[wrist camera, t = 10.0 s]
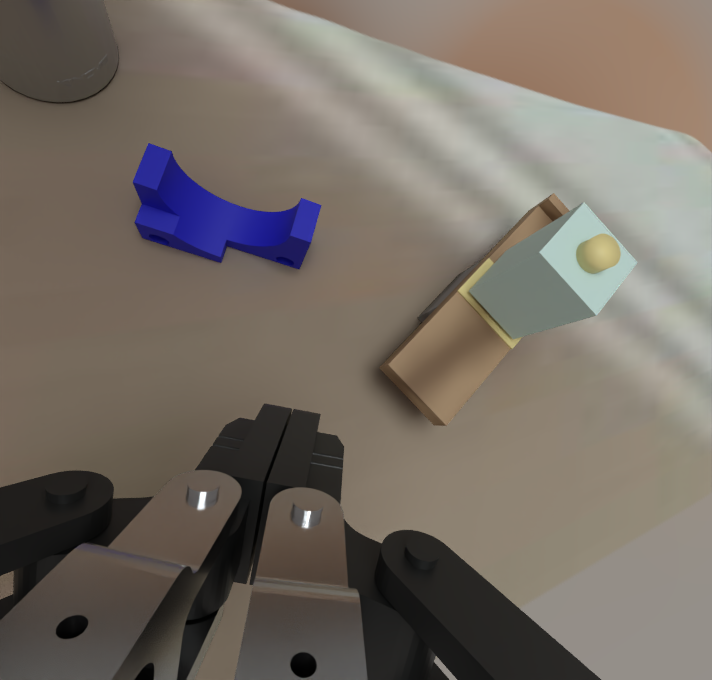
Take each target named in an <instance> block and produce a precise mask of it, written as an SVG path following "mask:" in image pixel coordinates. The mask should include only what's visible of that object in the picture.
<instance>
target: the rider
mask: <svg viewBox="0 0 712 680" xmlns="http://www.w3.org/2000/svg"><path fill="white" fill-rule="evenodd" d="M636 264H637V261H636V260H635V259H634V258H633V257H632V256H631V254H630V253H629V252H628V251H627V250H626V249H625V248H624V247H623V245H622V244H621V243H620V242H619V241H618V240H617V239H616V238H615V236H614V235H613V234H612V233H611V232H610V231H609V230H608V229H607V227H606V226H605V225H604V224H603V223H602V222H601V221H600V220H599V218H598V217H597V216H596V215H595V214H594V213H593V212H592V211H591V209H590V208H589V207H588V206H587V205H586V204H585V203H582V204H580V205H579V206H577V207H576V208H574V209H572V210H571V211H569V212H568V213H566V214H564V215H563V216H561V217H559V218H558V219H556V220H555V221H553V222H551V223H550V224H548V225H547V226H545V227H543V228H542V229H540V230H538V231H537V232H535V233H534V234H532V235H530V236H529V237H527V238H526V239H524V240H522V241H521V242H519V243H517V244H516V245H514V246H513V247H511V248H509V249H508V250H506V251H505V252H504V254H503V255H502V256H501V257H500V258H499V259H498V260H497V261H496V262H495V263H494V264H493V265H492V266H491V267H490V269H489V270H488V271H487V272H486V273H485V274H484V275H483V276H482V277H481V278H480V279H479V280H478V281H477V282H476V284H475V285H474V286H473V287H472V288H471V289H470V290H469V292H470V293H471V294H472V295H473V296H474V297H475V299H476V300H477V301H478V302H479V303H480V304H481V305H482V306H483V307H484V308H485V309H486V310H487V312H488V313H489V314H490V315H491V316H492V317H493V318H494V319H495V320H496V321H497V322H498V323H499V324H500V326H501V327H502V328H503V329H504V330H505V331H506V332H507V333H508V334H509V335H510V336H511V337H512V339H516V338H520V337H523V336H527V335H530V334H534V333H537V332H541V331H544V330H548V329H551V328H555V327H558V326H562V325H565V324H569V323H572V322H576V321H579V320H583V319H586V318H590V317H593V316H597V314H598V313H599V312H600V310H601V309H602V308H603V306H604V305H605V304H606V303H607V301H608V300H609V299H610V297H611V296H612V295H613V294H614V292H615V291H616V290H617V288H618V287H619V286H620V284H621V283H622V282H623V281H624V279H625V278H626V277H627V275H628V274H629V273H630V272H631V270H632V269H633V268H634V266H635V265H636Z"/></svg>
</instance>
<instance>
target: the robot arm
mask: <svg viewBox="0 0 712 680" xmlns="http://www.w3.org/2000/svg"><path fill="white" fill-rule="evenodd" d="M118 59H119V55H118V46H117V43H116V40H115V37H114V34H113V30H112V27H111V24H110V21H109V17H108V14H107V11H106V8H105V4H104V0H0V80H1V81H2V82H4V83H5V84H6V85H8V86H9V87H11V88H12V89H13V90H15V91H17V92H19V93H22V94H24V95H26V96H28V97H31V98H35V99H38V100H42V101H50V102H71V101H76V100H80V99H84V98H87V97H89V96H91V95H93V94H95V93H97V92H98V91H100V90H101V89H102V88H104V87H105V86H106V85H107V84H108V83H109V81H110V80H111V79H112V78H113V76H114V73H115V71H116V69H117V65H118ZM291 412H292V409H291V408H285V407H280V406H275V405H269V404H264V405H263V407H262V408H261V410H260V412H259V414H258V416H257V417H256V419H255V420H249V419H244V418H238V419H237V420H235V421H233V422H231V423H229V424H227V425H226V426H225V427H224V428H223V430H222V431H221V433H220V434H219V437H217V439H216V440H215V442H214V443H213V446H211V447H210V449H209V450H208V452H207V453H206V455H205V456H204V458H203V459H202V461H201V462H200V464H199V465H198V466H197V468H196V469H195V471H189V472H185V473H182V474H179V475H177V476H175V477H173V478H172V479H170V480H169V481H168V482H167V483H166V484H165V485H164V486H163V487H162V489H161V490H160V491H159V492H158V493H157V494H156V495H155V496H154V497H146V498H120V499H113V491H114V487H113V484H112V482H111V481H110V480H109V479H108V478H107V477H105V476H103V475H101V474H98V473H94V472H90V471H64V472H58V473H54V474H49V475H46V476H42V477H38V478H34V479H31V480H27V481H23V482H20V483H16V484H12V485H8V486H5V487H1V488H0V576H1V575H3V574H6V573H8V572H11V571H13V570H14V590H13V594H12V595H10V596H8V597H5V598H3V599H1V600H0V680H194V679H195V676H196V674H197V672H198V670H199V668H200V665H201V663H202V661H203V659H204V656H205V654H206V652H207V650H208V647H209V645H210V643H211V641H212V638H213V636H214V634H215V632H216V630H217V627H218V625H219V623H220V621H221V618H222V615H223V609H224V603H225V601H226V600H227V598H228V596H229V593H230V590H231V587H232V585H233V582H237V583H243V584H246V583H247V580H248V577H249V574H250V570H251V567H252V564H253V567H252V573H251V579H250V585H253V588H252V593H251V598H250V603H249V608H248V613H247V618H246V623H245V629H244V634H243V639H242V644H241V649H240V654H239V659H238V664H237V669H236V674H235V679H234V680H449V679H448V678H447V676H446V675H445V674H444V673H443V672H442V671H441V670H440V668H439V667H438V666H437V665H436V664H435V663H434V659H435V656H437V657H438V658H439V659H440V660H441V662H442V663H443V664H444V665H445V666H446V667H447V668H448V670H449V671H450V672H451V673H452V674H453V675H454V676H455V677H456V679H457V680H601V679H600V678H599V677H598V676H596V675H595V674H594V673H593V672H592V671H590V670H589V669H588V668H587V667H586V666H585V665H584V664H582V663H581V662H580V661H579V660H578V659H577V658H576V657H574V656H573V655H572V654H571V653H570V652H569V651H568V650H566V649H565V648H564V647H563V646H562V645H561V644H559V643H558V642H557V641H556V640H555V639H554V638H552V637H551V636H550V635H549V634H548V633H547V632H546V631H544V630H543V629H542V628H541V627H540V626H539V625H538V624H536V623H535V622H534V621H533V620H532V619H531V618H529V617H528V616H527V615H526V614H525V613H524V612H522V611H521V610H520V609H519V608H518V607H517V606H516V605H514V604H513V603H512V602H511V601H510V600H509V599H508V598H506V597H505V596H504V595H503V594H502V593H501V592H499V591H498V590H497V589H496V588H495V587H494V586H493V585H491V584H490V583H489V582H488V581H487V580H486V579H484V578H483V577H482V576H481V575H480V574H479V573H478V572H476V571H475V570H474V569H473V568H472V567H471V566H469V565H468V564H467V563H466V562H465V561H464V560H463V559H461V558H460V557H459V556H458V555H457V554H456V553H454V552H453V551H452V550H451V549H450V548H449V547H448V546H446V545H445V544H444V543H443V542H441V541H440V540H438V539H436V538H435V537H432V536H430V535H428V534H425V533H422V532H419V531H413V530H400V531H396V532H393V533H391V534H389V535H388V536H387V537H386V538H385V539H384V540H383V543H382V544H381V543H379V542H377V541H374V540H372V539H370V538H367V537H365V536H363V535H361V534H360V533H358V532H357V531H355V530H354V529H353V528H352V527H350V526H349V524H348V523H347V522H346V521H345V520H344V514H343V510H342V507H341V506H340V500H341V485H342V468H343V455H344V446H343V444H342V443H341V441H340V440H339V438H338V437H337V436H335V435H330V434H325V433H319V432H317V430H318V425H319V420H320V414H318V413H312V412H307V411H302V410H296V409H294V410H293V412H292V415H291Z"/></svg>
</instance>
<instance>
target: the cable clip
mask: <svg viewBox="0 0 712 680" xmlns="http://www.w3.org/2000/svg"><path fill="white" fill-rule="evenodd" d="M133 184H134V186H135V189H136V191H137V193H138V196H139V198H140V200H141V203H142V205H141V207H140V210H139V213H138V215H137V218H136V220H135V224H136V226H137V228H138V230H139V232H140V234H141V236H142V238H144V239H147V240H150V241H153V242H157V243H160V244H163V245H166V246H169V247H172V248H176V249H179V250H182V251H185V252H188V253H191V254H195V255H198V256H201V257H204V258H207V259H210V260H214V261H217V262H220V263H221V262H222V259H223V256H224V253H225V250H226V247H227V246H228V247H232V248H235V249H238V250H241V251H244V252H247V253H250V254H253V255H256V256H259V257H262V258H265V259H268V260H272V261H275V262H278V263H281V264H284V265H287V266H290V267H293V268H296V269H300V266H301V264H302V262H303V259H304V257H305V255H306V252H307V250H308V248H309V245H310V243H311V240H312V236H313V233H314V229H315V226H316V222H317V219H318V215H319V212H320V208H321V205H319V204H316V203H314V202H311V201H308V200H305V199H303V198H301V200H300V202H299V203H298V204H297V205H296V206H295V207H293V208H292V209H289V210H286V211H281V212H262V211H256V210H251V209H247V208H244V207H240V206H238V205H235V204H232V203H230V202H227V201H225V200H223V199H221V198H219V197H217V196H215V195H213V194H211V193H210V192H208V191H207V190H205V189H203V188H202V187H201V186H199V185H198V184H197V183H195V182H194V181H193V180H192V179H191V178H189V177H188V176H187V175H186V174H185V173H184V172H183V170H182V169H181V168H180V167H179V165H178V164H177V162H176V161H175V159H174V157H173V154H172V151H169V150H166V149H164V148H161V147H158V146H155V145H152V144H150V143H148V146H147V148H146V151H145V153H144V156H143V158H142V160H141V163H140V165H139V168H138V170H137V173H136V175H135V178H134V180H133Z"/></svg>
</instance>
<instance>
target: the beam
mask: <svg viewBox="0 0 712 680" xmlns="http://www.w3.org/2000/svg"><path fill="white" fill-rule="evenodd" d="M568 212H569V210H568V209H567V208H566V206H565V205H564V204H563V203H562V202H561V201H560V200H559V199H558V197H557V196H556V195H555V194H554V193H553V194H552V195H550V196H549V197H548V198H546V199H545V200H543V201H542V202H541V203H539V204H538V205H536V206H535V207H533V208H532V209H531V210H529V211H528V212H527V213H526V214H525V215H524V216H523V217H522V218H521V219H520V220H519V222H518V223H517V224H516V225H515V226H514V227H513V228H512V229H511V230H510V231H509V232H508V233H507V234H506V235H505V236H504V237H503V238H502V239H501V240H500V241H499V243H498V244H497V245H496V246H495V247H494V248H493V249H492V250H491V251H490V252H489V253H488V254H487V255H486V256H485V257H484V258H483V259H482V260H481V261H479V262H478V263H476V264H475V265H473V266H472V267H470V268H469V269H467V270H465V271H464V272H462V273H461V274H459V275H458V276H457V277H456V278H455V279H454V280H453V281H452V282H451V283H450V284H449V285H448V286H447V287H446V289H445V290H444V291H443V292H442V293H441V294H440V295H439V296H438V297H437V298H436V299H435V300H434V301H433V302H432V303H431V304H430V305H429V306H428V307H427V308H426V309H425V310H424V311H423V312H422V313H421V314H420V316H419V317H418V319H419V320H420V321H421V322H422V323H421V324H420V325H419V327H418V328H417V329H416V330H415V331H414V332H413V333H412V334H411V335H410V336H409V337H408V338H407V339H406V340H405V341H404V342H403V343H402V344H401V345H400V346H399V348H398V349H397V350H396V351H395V352H394V353H393V354H392V355H391V356H390V357H389V358H388V359H387V360H386V361H385V362H384V363H383V364H382V365H381V366H380V367H379V368H380V369H381V370H382V371H383V372H384V373H385V374H386V375H387V376H388V378H389V379H390V380H391V381H392V382H393V383H394V384H395V385H396V386H397V387H398V388H399V389H400V390H401V391H402V392H403V393H404V394H405V395H406V396H407V397H408V398H409V399H410V401H411V402H412V403H413V404H414V405H415V406H416V407H417V408H418V409H419V410H420V411H421V412H422V413H423V414H424V415H425V416H426V417H427V418H428V419H429V420H430V421H431V422H432V424H433V425H440V426H447V425H448V423H449V422H450V421H451V420H452V419H453V417H454V416H455V415H456V414H457V413H458V411H459V410H460V409H461V408H462V407H463V405H464V404H465V403H466V402H467V401H468V399H469V398H470V397H471V396H472V395H473V393H474V392H475V391H476V390H477V389H478V387H479V386H480V385H481V384H482V383H483V381H484V380H485V379H486V378H487V377H488V375H489V374H490V373H491V372H492V371H493V369H494V368H495V367H496V366H497V365H498V363H499V362H500V361H501V360H502V359H503V357H504V356H505V355H506V354H507V353H508V351H509V350H510V349H513V348H514V346H515V345H516V344H517V343H518V342H519V340H520V339H521V338H522V337H520V338H516V339H512V337H511V336H510V335H509V334H508V333H507V332H506V331H505V330H504V329H503V328H502V327H501V326H500V324H499V323H498V322H497V321H496V320H495V319H494V318H493V317H492V316H491V315H490V314H489V313H488V312H487V310H486V309H485V308H484V307H483V306H482V305H481V304H480V303H479V302H478V301H477V300H476V299H475V297H474V296H473V295H472V294H471V293H470V292H469V290H470V289H471V288H472V287H473V286H474V285H475V284H476V282H477V281H478V280H479V279H480V278H481V277H482V276H483V275H484V274H485V273H486V272H487V271H488V270H489V269H490V267H491V266H492V265H493V264H494V263H495V262H496V261H497V260H498V259H499V258H500V257H501V256H502V255H503V254H504V252H505V251H506V250H508V249H509V248H511V247H513V246H514V245H516V244H517V243H519V242H521V241H522V240H524V239H526V238H527V237H529V236H530V235H532V234H534V233H535V232H537V231H538V230H540V229H542V228H543V227H545V226H547V225H548V224H550V223H551V222H553V221H555V220H556V219H558V218H559V217H561V216H563V215H564V214H566V213H568Z"/></svg>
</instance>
